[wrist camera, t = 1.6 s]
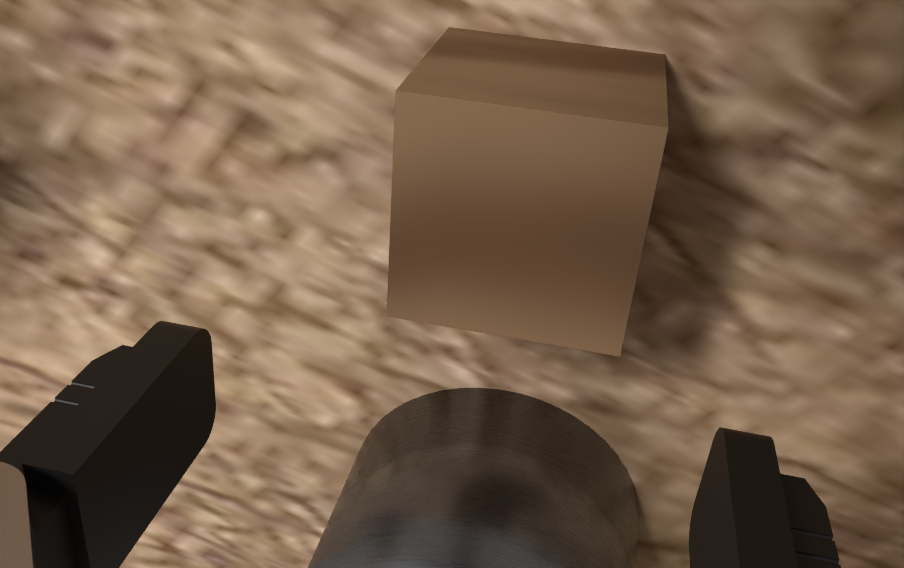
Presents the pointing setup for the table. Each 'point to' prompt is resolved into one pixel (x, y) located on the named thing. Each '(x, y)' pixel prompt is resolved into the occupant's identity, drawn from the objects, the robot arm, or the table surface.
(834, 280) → the table surface
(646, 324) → the table surface
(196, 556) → the table surface
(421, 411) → the metal tin
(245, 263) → the table surface
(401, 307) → the walnut block
